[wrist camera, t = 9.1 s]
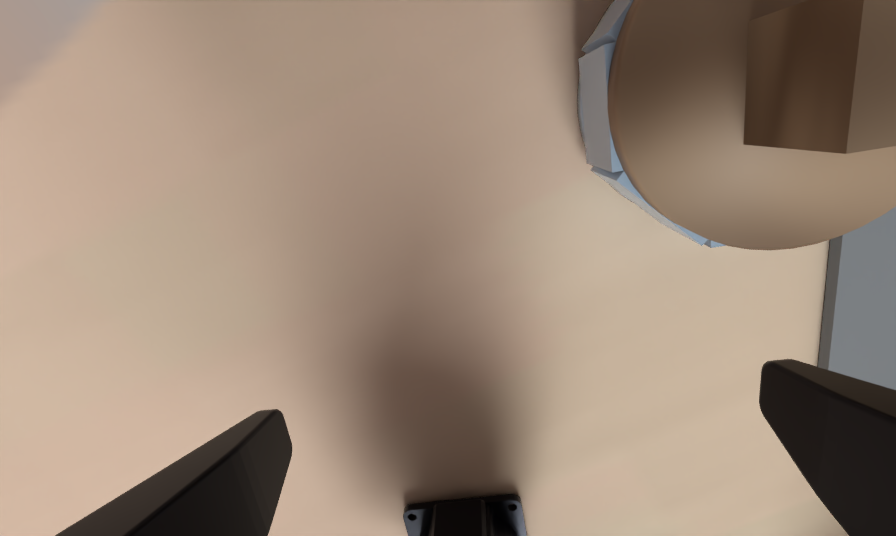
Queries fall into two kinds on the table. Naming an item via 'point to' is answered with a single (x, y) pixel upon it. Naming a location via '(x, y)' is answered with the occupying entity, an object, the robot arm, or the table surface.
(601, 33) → the bowl
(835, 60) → the lid
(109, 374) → the table surface
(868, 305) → the mat
